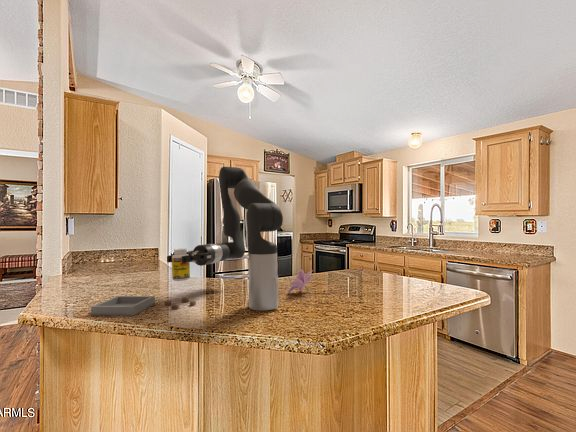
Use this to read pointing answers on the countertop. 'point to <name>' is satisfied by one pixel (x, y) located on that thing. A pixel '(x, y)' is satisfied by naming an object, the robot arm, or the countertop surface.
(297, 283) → the lily
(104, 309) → the tray
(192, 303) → the set of brown cubes
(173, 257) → the supplement bottle
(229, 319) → the countertop surface
